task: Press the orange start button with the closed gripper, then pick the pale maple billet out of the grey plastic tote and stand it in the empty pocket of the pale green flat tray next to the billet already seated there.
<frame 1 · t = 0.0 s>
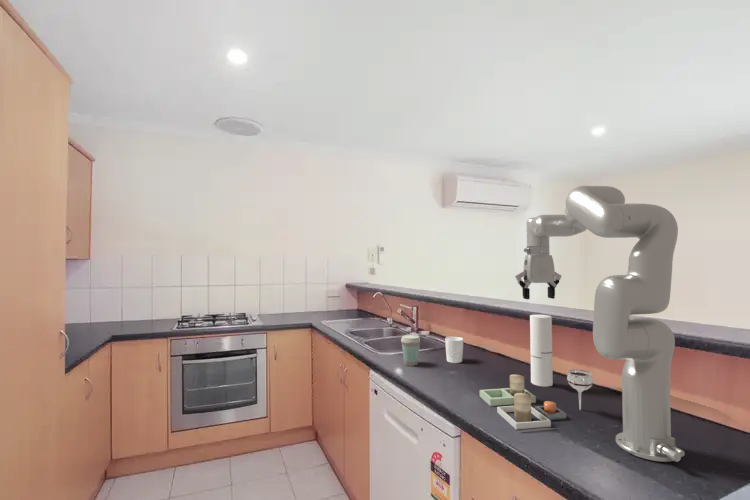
hand: (538, 298, 136), 31 cm above the countertop, tool pointing down, fingers open, 9 cm apart
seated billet: (517, 398, 121), point 1 cm above the countertop, touching pale green flat tray
billet: (522, 420, 106), resting on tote
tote: (522, 422, 106), on the countertop
coffee cup: (411, 364, 163), on the countertop
white cup: (454, 361, 167), on the countertop
button: (550, 407, 108), point 3 cm above the countertop, slide at 0.0 cm
pale green flat tray: (507, 402, 120), on the countertop
button housing: (550, 418, 108), on the countertop
wineglass: (580, 413, 112), on the countertop
cylindrical container: (541, 386, 135), on the countertop
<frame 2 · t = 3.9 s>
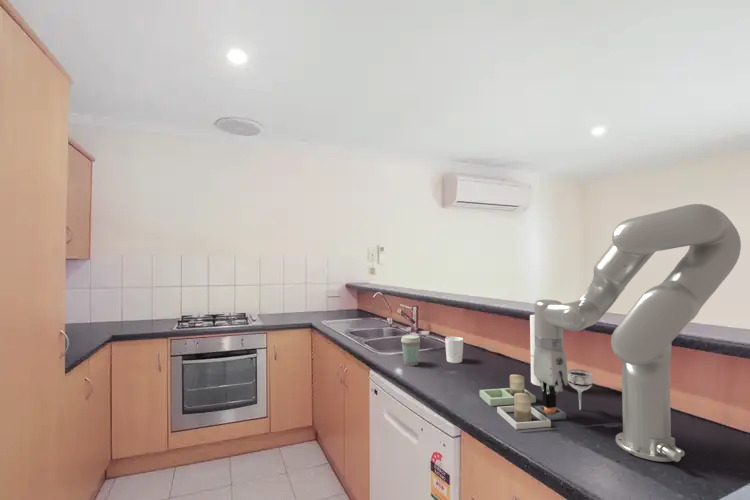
hand: (549, 406, 109), 3 cm above the countertop, tool pointing down, fingers closed
button: (550, 411, 108), point 2 cm above the countertop, slide at 1.0 cm, touching gripper
everything else where it was.
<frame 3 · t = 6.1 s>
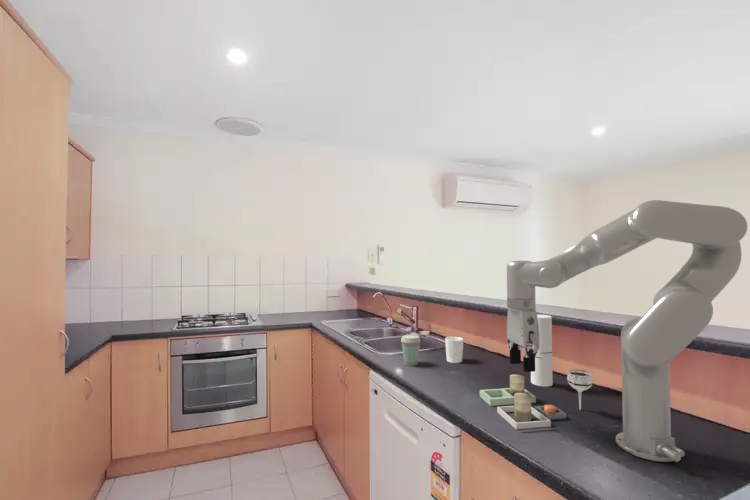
hand: (522, 366, 106), 16 cm above the countertop, tool pointing down, fingers open, 6 cm apart
button: (550, 411, 108), point 2 cm above the countertop, slide at 1.0 cm
everything else where it was.
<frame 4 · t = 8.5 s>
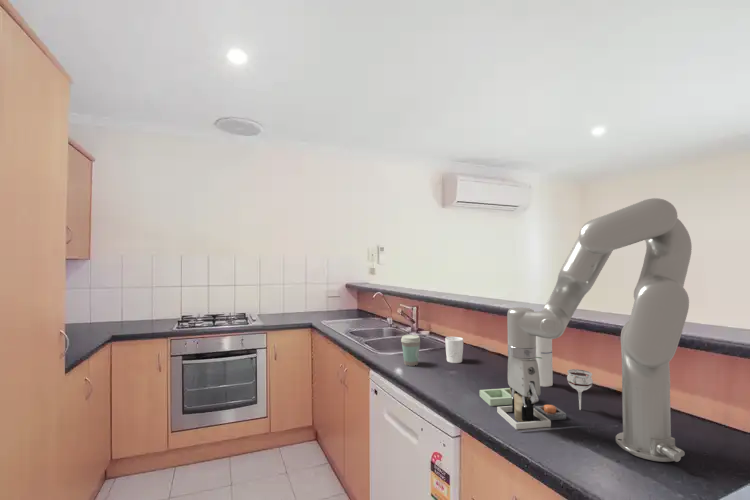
hand: (522, 415, 106), 2 cm above the countertop, tool pointing down, fingers closed on billet, 4 cm apart
billet: (522, 420, 106), point 1 cm above the countertop, touching gripper, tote
everything else where it was.
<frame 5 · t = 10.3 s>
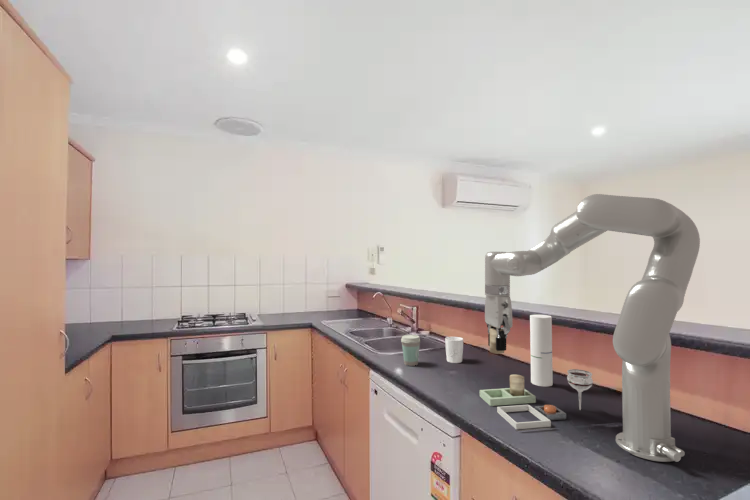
hand: (497, 347, 119), 18 cm above the countertop, tool pointing down, fingers closed on billet, 4 cm apart
billet: (496, 351, 119), point 17 cm above the countertop, touching gripper
everything else where it was.
when the fingers open (4 cm above the countertop, at t = 12.5 s): billet drops 1 cm, resting on pale green flat tray.
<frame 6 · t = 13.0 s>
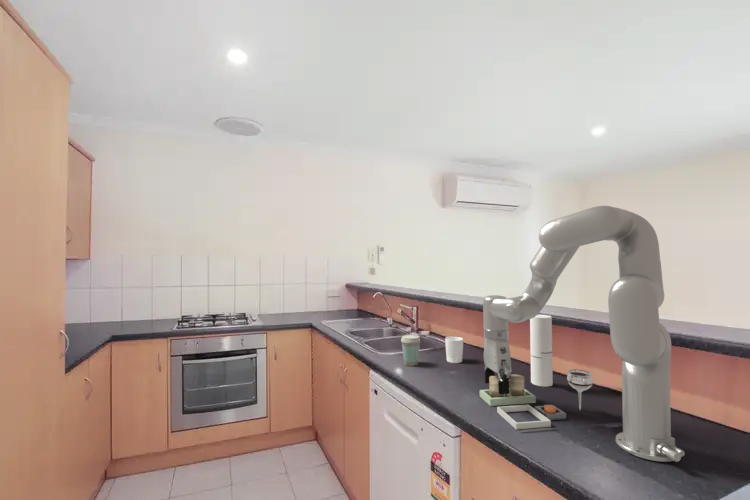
hand: (496, 388, 120), 5 cm above the countertop, tool pointing down, fingers open, 9 cm apart
billet: (496, 400, 120), point 1 cm above the countertop, touching pale green flat tray
everything else where it was.
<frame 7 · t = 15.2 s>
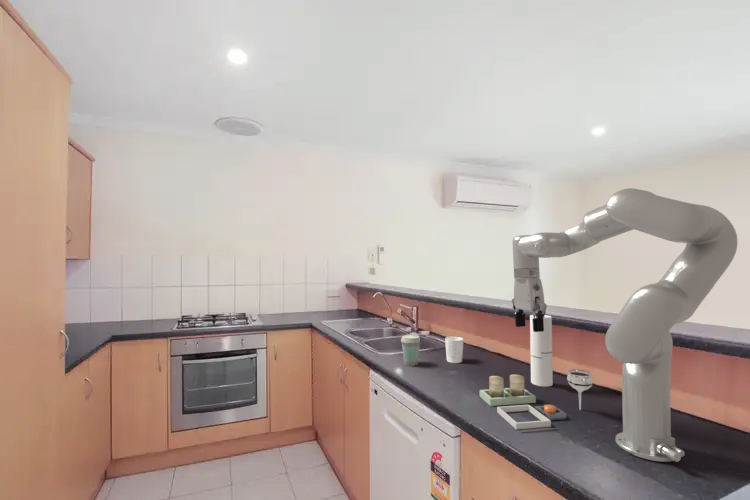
hand: (529, 328, 118), 24 cm above the countertop, tool pointing down, fingers open, 9 cm apart
nothing on the countertop moved.
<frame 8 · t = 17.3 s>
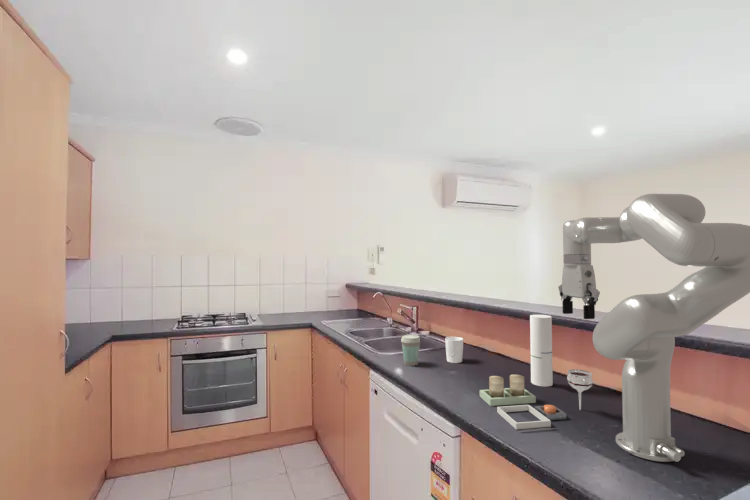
hand: (578, 316, 115), 28 cm above the countertop, tool pointing down, fingers open, 9 cm apart
nothing on the countertop moved.
at the end: billet 0.1 cm from the target spot on the pale green flat tray, point 1.0 cm above the pale green flat tray's base; billet tilted 0°; button slide at 1.0 cm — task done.
